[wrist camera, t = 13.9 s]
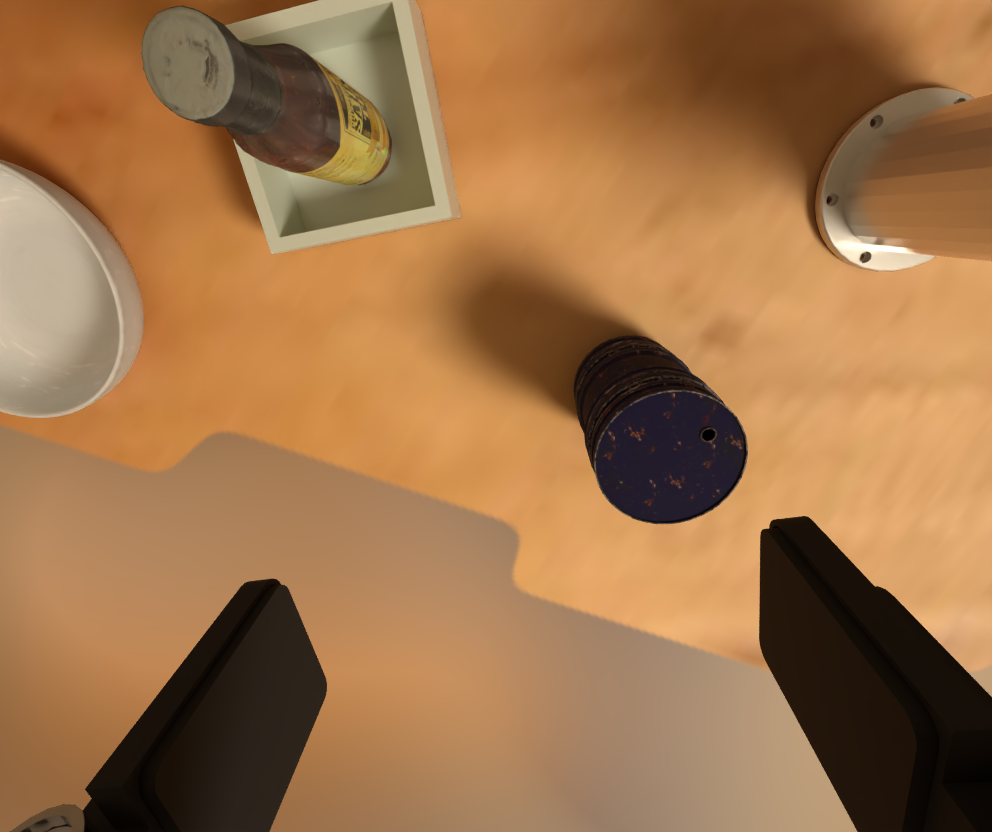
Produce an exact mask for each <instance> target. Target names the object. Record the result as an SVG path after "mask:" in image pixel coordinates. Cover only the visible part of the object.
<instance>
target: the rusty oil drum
mask: <svg viewBox="0 0 992 832" xmlns="http://www.w3.org/2000/svg"><path fill="white" fill-rule="evenodd" d="M574 397H575V404H576V410H577V414H578V419H579V422H580V426H581V428H582V430H583V432H584V437H585V445H586V449H587V452H588V455H589V459H590V462H591V466H592V468H593V470H594V472H595V475H596V478H597V482H598V485H599V487H600V489H601V491H602V493H603V495H604V496H605V497H606V499H607V500H608V501H609V502H610V503H611V504H612V505H613V506H614V507H615V508H616V509H617V510H619V511H620V512H622V513H623V514H625V515H627V516H629V517H631V518H633V519H636V520H639V521H643V522H647V523H653V524H674V523H681V522H685V521H689V520H692V519H695V518H697V517H700V516H702V515H704V514H706V513H708V512H710V511H711V510H713V509H714V508H716V507H717V506H718V505H720V504H721V503H722V502H723V501H724V500H725V499H726V498H727V497H728V496H729V495H730V494H731V493H732V492H733V490H734V489H735V488H736V486H737V484H738V483H739V481H740V479H741V478H742V475H743V472H744V470H745V467H746V462H747V455H748V445H747V440H746V435H745V432H744V430H743V427H742V425H741V423H740V422H739V420H738V418H737V417H736V416H735V414H734V413H733V412H732V411H731V410H730V409H729V408H728V407H727V406H726V405H725V404H724V403H723V401H722V400H721V399H720V398H719V397H718V395H717V394H716V393H715V392H714V391H713V390H711V389H710V388H709V387H708V386H707V385H706V383H705V382H703V381H702V380H701V379H699V378H698V377H697V376H695V375H693V374H692V373H691V372H690V370H689V368H688V367H687V366H686V365H685V364H684V363H683V362H682V361H681V360H680V359H678V358H677V357H676V356H675V355H674V354H672V353H671V352H670V351H668V350H667V349H665V348H664V347H663V346H661V345H660V344H659V343H657V342H655V341H653V340H651V339H648V338H645V337H640V336H622V337H617V338H613V339H610V340H608V341H606V342H604V343H602V344H600V345H599V346H597V347H596V348H594V349H593V350H592V351H591V352H590V353H589V354H588V355H587V356H586V357H585V359H584V360H583V361H582V363H581V365H580V366H579V368H578V371H577V373H576V377H575V381H574Z"/></svg>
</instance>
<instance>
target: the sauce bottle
mask: <svg viewBox="0 0 992 832" xmlns="http://www.w3.org/2000/svg"><path fill="white" fill-rule="evenodd" d="M141 54H142V60H143V69H144V71H145V74H146V77H147V80H148V82H149V84H150V86H151V88H152V90H153V91H154V93H155V95H156V96H157V97H158V99H159V100H160V101H161V102H162V103H163V104H164V105H165V106H166V107H168V108H169V109H170V110H171V111H173V112H174V113H175V114H177V115H178V116H180V117H182V118H184V119H187V120H190V121H194V122H196V123H200V124H203V125H207V126H224V127H226V128H227V130H228V132H229V134H230V135H231V136H232V138H233V139H234V140H235V142H236V144H237V145H238V146H240V147H241V149H242V150H243V151H244V152H246V153H248V154H249V155H251V156H252V157H254V158H256V159H258V160H259V161H262V162H264V163H266V164H268V165H272V166H275V167H279V168H281V169H283V170H286V171H289V172H293V173H297V174H301V175H305V176H310V177H314V178H318V179H322V180H326V181H331V182H335V183H339V184H343V185H363V184H367V183H369V182H371V181H373V180H374V179H376V178H378V177H379V176H380V175H381V174H382V173H383V172H384V171H385V169H386V168H387V166H388V164H389V161H390V158H391V152H392V139H391V136H390V132H389V129H388V127H387V125H386V122H385V119H384V118H383V117H382V115H381V114H380V112H379V111H378V109H377V108H376V107H375V106H374V105H373V103H372V102H370V101H369V100H368V99H367V98H365V97H364V96H363V95H361V94H360V93H359V92H357V91H356V90H355V89H353V88H352V87H351V86H349V85H348V84H347V83H346V82H345V81H343V80H342V79H340V78H339V77H338V76H337V75H335V74H334V73H333V72H331V71H330V70H329V69H327V68H326V67H324V66H323V65H322V64H320V63H319V62H318V61H317V60H315V59H314V58H313V57H311V56H310V55H309V54H307V53H306V52H304V51H303V50H301V49H300V48H298V47H296V46H293V45H290V44H286V43H278V44H271V45H250V44H247V43H243V42H241V41H239V40H238V39H237V38H236V37H235V36H234V34H233V33H232V32H231V31H230V30H229V29H228V28H227V27H226V26H225V25H223V24H222V23H220V22H219V21H217V20H215V19H213V18H211V17H209V16H208V15H206V14H204V13H202V12H200V11H198V10H195V9H193V8H188V7H185V6H176V7H171V8H168V9H165V10H163V11H161V12H159V13H157V14H156V15H155V16H154V18H153V19H152V20H151V21H150V22H149V24H148V26H147V28H146V30H145V33H144V36H143V40H142V53H141Z"/></svg>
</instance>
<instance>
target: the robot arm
mask: <svg viewBox="0 0 992 832" xmlns="http://www.w3.org/2000/svg"><path fill="white" fill-rule="evenodd" d="M870 122H872V125H871V126H870ZM827 197H828V198H829V201H828V202H827V203H826V200H827ZM815 212H816V222H817V225H818V228H819V231H820V235H821V237H822V238H823V240H824V242H825V243H826V245H827V247H828V248H829V249H830V250H831V251H832V252H833V253H834V254H835V255H836V256H837V257H838V258H839V259H841V260H843V261H844V262H846V263H847V264H849V265H852V266H855V267H858V268H861V269H865V270H872V271H898V270H904V269H909V268H912V267H914V266H917V265H920V264H923V263H925V262H927V261H929V260H931V259H933V258H935V257H937V256H941V257H952V258H962V259H973V260H983V261H992V94H991V95H987V96H983V97H979V98H974V97H973V96H971V95H970V94H967V93H964V92H961V91H959V90H956V89H949V88H940V87H935V88H926V89H918V90H915V91H911V92H908V93H905V94H901V95H899V96H897V97H894V98H892V99H889V100H887V101H884V102H883V103H881V104H879V105H878V106H876V107H875V108H873V109H871V110H870V111H868V112H867V113H866V114H864V115H863V116H862V117H861V118H860V119H858V120H857V121H856V122H855V123H854V124H853V125H852V126H851V127H850V128H849V129H848V130H847V131H846V132H845V134H844V135H843V136H842V137H841V138H840V139H839V141H838V142H837V144H836V145H835V147H834V148H833V150H832V152H831V153H830V155H829V156H828V159H827V161H826V163H825V165H824V167H823V170H822V172H821V175H820V178H819V182H818V186H817V190H816V200H815ZM860 255H861V258H860ZM859 258H860V259H859ZM759 641H760V647H761V650H762V654H763V656H764V659H765V661H766V663H767V665H768V666H769V668H770V670H771V672H772V674H773V676H774V678H775V679H776V681H777V683H778V685H779V687H780V689H781V690H782V692H783V694H784V696H785V698H786V700H787V702H788V703H789V705H790V707H791V709H792V711H793V712H794V714H795V716H796V718H797V720H798V722H799V724H800V726H801V728H802V729H803V731H804V733H805V735H806V737H807V738H808V741H809V742H810V744H811V746H812V748H813V750H814V751H815V753H816V755H817V757H818V759H819V761H820V763H821V764H822V767H823V768H824V770H825V772H826V774H827V776H828V778H829V779H830V781H831V783H832V785H833V787H834V789H835V791H836V792H837V794H838V796H839V798H840V800H841V802H842V804H843V805H844V807H845V809H846V811H847V813H848V815H849V817H850V818H851V820H852V822H853V824H854V826H855V828H856V830H857V831H858V832H992V697H991V696H990V695H989V694H988V693H987V692H986V691H985V690H984V689H983V688H982V687H981V686H980V685H979V684H978V683H977V681H976V680H975V679H973V677H971V675H970V674H969V673H968V672H967V671H966V670H965V669H964V668H963V667H962V666H961V665H960V664H959V663H958V662H957V661H956V660H955V659H954V658H953V657H952V656H951V655H950V654H949V653H948V652H947V651H946V650H945V649H944V647H943V646H942V645H941V644H940V643H939V642H938V641H937V640H936V639H935V638H934V637H933V636H932V635H931V634H930V633H929V632H928V631H927V630H926V629H925V628H924V627H923V626H922V625H921V624H920V623H919V622H918V621H917V620H916V619H915V618H914V617H913V616H912V614H911V613H910V612H909V611H908V610H907V609H906V608H905V607H904V606H903V605H902V604H901V603H900V602H899V601H898V600H897V599H896V598H895V597H894V596H893V595H892V594H890V593H889V592H888V591H887V590H886V589H883V588H881V587H878V586H877V587H875V586H874V585H873V584H872V583H871V582H870V581H869V580H868V579H867V578H866V577H865V576H864V575H863V574H862V572H861V571H860V570H859V569H858V568H857V567H856V566H855V565H854V564H853V563H852V562H851V561H850V560H849V559H848V558H847V557H846V556H845V554H844V553H843V552H842V551H841V550H840V549H839V548H838V547H837V546H836V545H835V544H834V543H833V542H832V541H831V540H830V539H829V538H828V536H827V535H826V534H825V533H824V532H823V531H822V530H821V529H820V528H819V527H818V526H817V525H816V524H815V523H814V522H813V521H812V520H811V519H810V518H809V517H806V516H801V517H793V518H784V519H776V520H773V521H771V523H770V527H769V529H763V530H762V531H761V536H760V620H759ZM326 691H327V682H326V678H325V675H324V673H323V670H322V668H321V665H320V663H319V661H318V658H317V656H316V654H315V651H314V649H313V646H312V644H311V642H310V639H309V637H308V635H307V632H306V630H305V627H304V625H303V623H302V620H301V618H300V615H299V613H298V611H297V609H296V606H295V603H294V601H293V599H292V596H291V594H290V592H289V590H288V588H287V587H286V586H285V585H281V584H280V582H279V581H278V580H277V579H266V580H258V581H250V582H246V583H244V584H243V585H242V586H241V587H240V589H239V590H238V591H237V593H236V594H235V595H234V597H233V598H232V599H231V600H230V602H229V603H228V604H227V606H226V607H225V608H224V609H223V611H222V612H221V613H220V615H219V616H218V617H217V619H216V620H215V621H214V623H213V624H212V625H211V626H210V628H209V629H208V630H207V631H206V633H205V634H204V635H203V637H202V638H201V639H200V641H199V642H198V643H197V644H196V646H195V647H194V648H193V650H192V651H191V652H190V654H189V655H188V656H187V658H186V659H185V660H184V661H183V663H182V664H181V665H180V667H179V668H178V669H177V670H176V672H175V673H174V674H173V676H172V677H171V678H170V680H169V681H168V682H167V683H166V685H165V686H164V687H163V689H162V690H161V691H160V692H159V694H158V695H157V696H156V698H155V699H154V700H153V702H152V703H151V704H150V705H149V707H148V708H147V710H146V711H145V712H144V713H143V715H142V716H141V717H140V719H139V720H138V721H137V722H136V724H135V725H134V726H133V728H132V729H131V730H130V731H129V733H128V734H127V735H126V737H125V738H124V739H123V741H122V742H121V743H120V744H119V746H118V747H117V748H116V750H115V751H114V752H113V754H112V755H111V756H110V757H109V759H108V760H107V761H106V763H105V764H104V765H103V767H102V768H101V769H100V770H99V772H98V773H97V774H96V776H95V777H94V778H93V780H92V781H91V782H90V783H89V785H88V786H87V787H86V789H85V790H86V791H87V792H88V794H89V795H90V797H91V798H92V799H91V800H90V802H89V803H88V804H87V806H86V807H85V809H84V810H81V809H80V808H79V807H77V806H76V805H69V804H62V805H59V806H56V807H52V808H49V809H46V810H44V811H42V812H40V813H38V814H36V815H34V816H32V817H30V818H29V819H27V820H26V821H25V822H23V823H22V824H20V825H19V826H17V827H16V828H14V829H13V830H12V831H10V832H269V831H270V829H271V826H272V824H273V821H274V819H275V817H276V814H277V812H278V810H279V807H280V805H281V802H282V800H283V798H284V795H285V793H286V790H287V788H288V785H289V783H290V780H291V778H292V776H293V773H294V771H295V769H296V766H297V764H298V762H299V759H300V756H301V754H302V752H303V750H304V747H305V745H306V742H307V740H308V738H309V735H310V733H311V730H312V728H313V726H314V723H315V721H316V718H317V716H318V714H319V711H320V709H321V706H322V704H323V702H324V699H325V696H326Z"/></svg>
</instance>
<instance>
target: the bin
mask: <svg viewBox="0 0 992 832" xmlns="http://www.w3.org/2000/svg"><path fill="white" fill-rule="evenodd" d="M225 26H226V27H227V28H228V29H229V30H230V31H231V32H232V33H233V34H234V36H235V37H236V38H237V39H238V40H239V41H241V42H243V43H247V44H250V45H271V44H278V43H286V44H290V45H293V46H296V47H298V48H300V49H301V50H303V51H304V52H306V53H307V54H309V55H310V56H311V57H313V58H314V59H315V60H317V61H318V62H319V63H320V64H322V65H323V66H324V67H326V68H327V69H329V70H330V71H331V72H333V73H334V74H335V75H337V76H338V77H339V78H340V79H342V80H343V81H345V82H346V83H347V84H348V85H349V86H351V87H352V88H353V89H355V90H356V91H357V92H359V93H360V94H361V95H363V96H364V97H365V98H367V99H368V100H369V101H370V102H372V103H373V105H374V106H375V107H376V108H377V109H378V111H379V112H380V114H381V115H382V117H383V118H384V119H385V122H386V125H387V127H388V129H389V132H390V136H391V139H392V152H391V158H390V161H389V164H388V166H387V168H386V169H385V171H384V172H383V173H382V174H381V175H380V176H379V177H378V178H376V179H374V180H373V181H371V182H369V183H367V184H363V185H343V184H339V183H335V182H331V181H326V180H322V179H318V178H314V177H310V176H305V175H301V174H297V173H293V172H289V171H286V170H283V169H281V168H279V167H275V166H272V165H268V164H266V163H264V162H262V161H259V160H258V159H256V158H254V157H252V156H251V155H249V154H248V153H246V152H244V151H243V150H242V149H241V147H240V146H238V145H237V144H236V142H235V140H234V139H233V140H234V143H235V146H236V149H237V152H238V155H239V158H240V161H241V164H242V167H243V170H244V173H245V176H246V179H247V182H248V185H249V188H250V191H251V194H252V197H253V200H254V203H255V206H256V209H257V212H258V215H259V218H260V221H261V224H262V227H263V230H264V233H265V236H266V239H267V242H268V245H269V248H270V251H271V254H276V253H282V252H289V251H296V250H303V249H308V248H313V247H318V246H323V245H328V244H333V243H338V242H343V241H348V240H353V239H358V238H363V237H368V236H373V235H378V234H382V233H387V232H392V231H397V230H402V229H407V228H412V227H417V226H422V225H427V224H432V223H437V222H442V221H447V220H452V219H457V218H462V217H461V212H460V207H459V202H458V196H457V191H456V186H455V181H454V176H453V171H452V166H451V161H450V155H449V150H448V145H447V140H446V135H445V130H444V125H443V120H442V115H441V109H440V104H439V99H438V94H437V89H436V84H435V79H434V74H433V68H432V63H431V58H430V53H429V48H428V43H427V38H426V33H425V27H424V22H423V17H422V13H421V11H420V9H419V7H418V5H417V3H416V1H415V0H318V1H315V2H311V3H307V4H303V5H299V6H296V7H292V8H288V9H284V10H280V11H277V12H273V13H269V14H265V15H262V16H258V17H254V18H250V19H246V20H243V21H239V22H235V23H231V24H228V25H225Z"/></svg>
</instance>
